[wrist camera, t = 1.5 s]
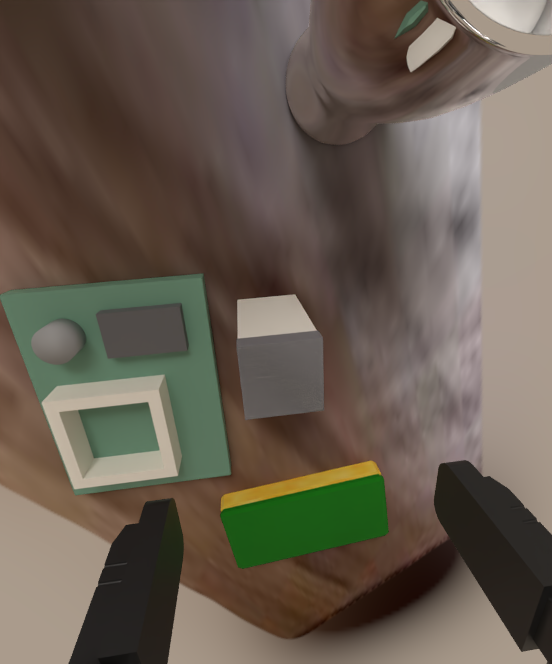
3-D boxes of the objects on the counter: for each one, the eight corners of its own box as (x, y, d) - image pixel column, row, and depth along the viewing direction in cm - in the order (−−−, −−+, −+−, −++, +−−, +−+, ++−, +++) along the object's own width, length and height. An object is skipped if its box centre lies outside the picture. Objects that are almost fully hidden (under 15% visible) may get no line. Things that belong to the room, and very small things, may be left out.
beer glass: (391, 153, 21) (692, 69, 7) (278, 154, 20) (368, 65, 6) (404, 8, 18) (917, -568, 5) (275, 4, 18) (416, -678, 4)
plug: (236, 299, 23) (236, 347, 16) (295, 293, 24) (322, 337, 16) (242, 353, 25) (245, 419, 17) (298, 347, 25) (324, 410, 18)
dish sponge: (220, 491, 30) (219, 514, 28) (373, 456, 30) (384, 476, 28) (239, 545, 33) (239, 571, 30) (379, 512, 33) (389, 535, 31)
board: (11, 290, 22) (-25, 305, 19) (203, 273, 22) (198, 285, 19) (81, 483, 28) (62, 517, 25) (231, 463, 28) (230, 495, 25)
